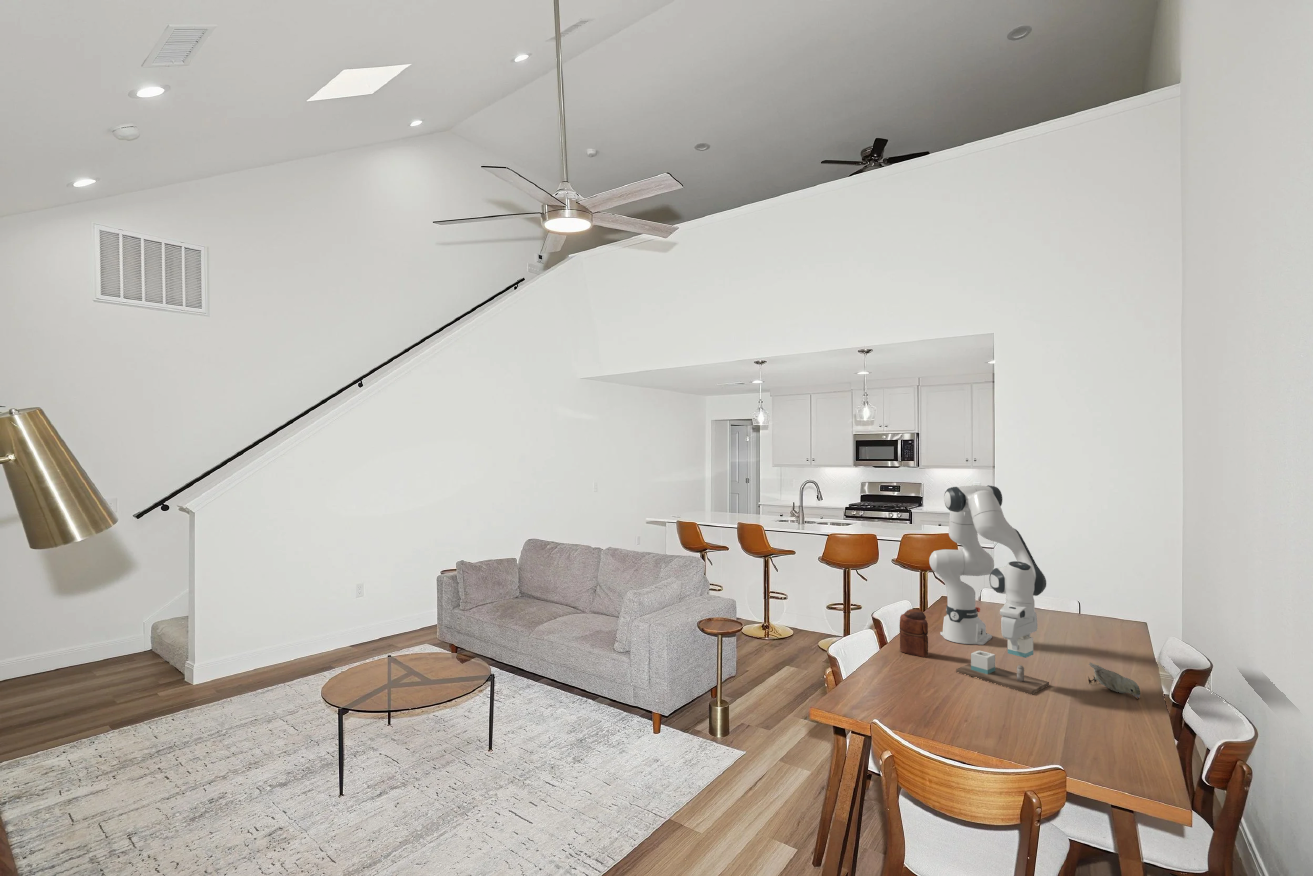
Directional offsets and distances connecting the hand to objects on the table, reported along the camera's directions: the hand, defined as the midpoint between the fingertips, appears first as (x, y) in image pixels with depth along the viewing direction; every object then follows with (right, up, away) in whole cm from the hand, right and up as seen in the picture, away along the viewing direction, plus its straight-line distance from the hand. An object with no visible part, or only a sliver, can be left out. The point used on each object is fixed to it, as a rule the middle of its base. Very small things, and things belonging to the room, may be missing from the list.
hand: (1020, 647), depth 220 cm
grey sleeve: (-8, -12, +10) cm, 17 cm away
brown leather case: (-24, -14, +32) cm, 43 cm away
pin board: (-4, -13, +5) cm, 14 cm away
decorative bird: (+29, -13, -6) cm, 32 cm away
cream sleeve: (0, -2, 0) cm, 2 cm away
